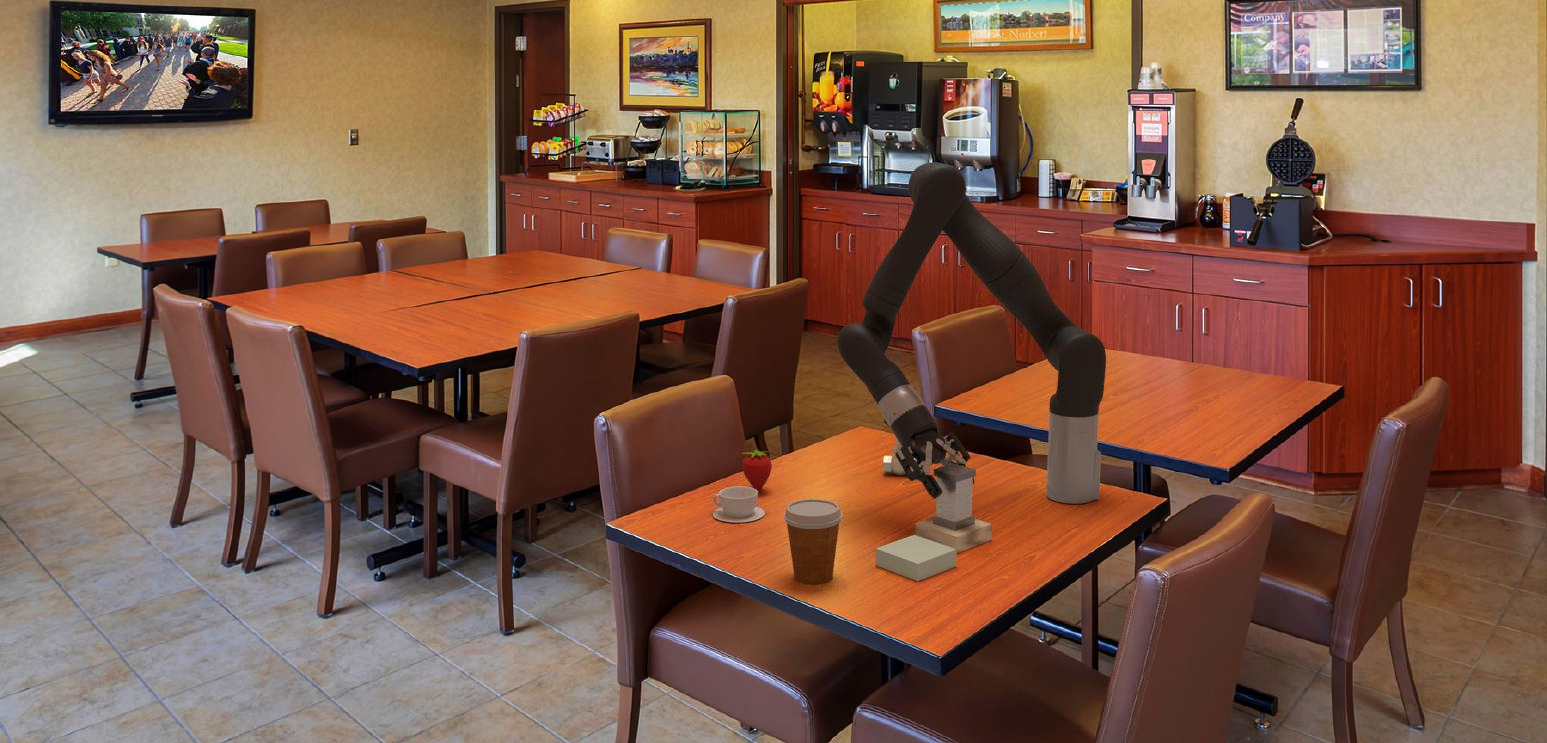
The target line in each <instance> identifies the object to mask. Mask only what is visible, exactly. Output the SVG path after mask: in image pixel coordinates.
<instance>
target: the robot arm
mask: <svg viewBox="0 0 1547 743" xmlns="http://www.w3.org/2000/svg"><path fill="white" fill-rule="evenodd" d="M907 185H908V187H907V188H908V193H909V194H908V195H909V197H910V199H911V202H912V203H913V207H912V209H911V212H910V215H909V216H908V217H909V218H908V219H907V221H906V224H905V226H904V229H903V230H902V231H901V233H900V235H899V236H898V238H897V240H896V241H895V243H894V244H893V246H892V247H891V248H890V249H889V251H888V252H887V254H886V255H885V256H884V258H883V259H882V261H881V263H879V266H878V267H877V269H876V271H875V273H874V275H873V277H872V279H871V281H870V283H869V285H868V287H867V289H866V292H865V294H864V296H863V298H862V306H863V308H864V309H865V313H864V316H863V320H862V322H861V323H859V322H858V323H857V322H856V323H855V322H854V323H853V322H852V323H848V324H846V325H845V326H843V327H842V328H841V330H840V331H839V332H838V335H837V340H836V343H837V350H838V351H839V354H840V356H841V358H842V359H843V360H844V362H845V363H846V364H847V366H848V367H849V368H850V369H851V370H852V372H853V373H854V374H855V375H856V376H857V377H858V378H859V379H860V380H861V381H862V382H863V384H864V385H865V386H866V388H867V390H868V392H869V393H870V394H871V396H872V398H873V400H874V401H875V402H876V404H877V406H878V407H879V410H880V411H881V414H882V417H883V418H884V419H885V420H886V421H887V423H888V425H889V426H890V427H889V426H888V427H889V428H890V429H891V431H892V433H893V434H894V436H895V437H896V438H897V439H898V441H899V442H900V444H901V446H902V447H901V448H900V449H899V450H898V451H897V452H896V453H895V455H896V457H897V459H898V461H899V462H900V464H901V466H902V468H903V469H904V471H905V473H906V474H905V475H906V476H907V478H908V480H909V481H910V482H914V481H915V480H916V481H918V482H920V483H921V484H922V485H923V486H924V489H925V490H926V491H927V493H928V495H929V496H930V497H932V499H933V500H934V499H936V498H938V497H939V496H940V495H941V494H942V489H941V488H940V486H939V485H938V483H937V479H936V477H935V476H934V474H931V466H933V465H938V464H941V465H942V466H946V465H949V464H952V463H954V464H958V465H961V466H965V467H967V465H966V464H967V462H968V461H969V460H970V459H971V455H970V454H969V452H968V451H967V449H966V448H965V446H964V445H963V443H961V440H959V438H958V437H957V435H956V434H955V433H954V431H953V432H952V431H950V432H949V433H948V434H947V435H945V436H943V435H941V434H940V432H938V427H939V426H938V425H939V424H938V423H937V421H936V418H934V416H933V415H932V413H931V412H930V410H929V408H928V407H927V405H926V403H925V402H924V401H923V399H922V397H921V396H920V395H919V393H918V392H917V391H916V390H915V388H914V387H913V386H912V384H911V383H910V382H909V380H908V379H907V377H906V376H905V373H904V372H903V371H902V369H901V368H900V367H899V366H898V365H897V364H896V363H895V362H893V361H892V360H890V359H889V358H888V357H887V356H886V354H885V353H886V352H887V350H888V348H889V346H890V344H891V340H892V337H893V333H894V329H895V326H896V319H897V316H898V313H899V312H900V309H901V308H902V306H903V305H904V302H905V300H906V297H907V296H908V294H909V292H910V291H911V288H912V285H913V283H914V281H915V279H916V277H917V275H918V274H919V271H920V269H921V267H922V266H923V263H924V262H925V260H926V258H927V256H928V254H929V252H930V251H931V250H932V248H933V246H934V244H935V243H936V242H937V239H938V238H939V236H940V235H941V233H942V231H943V233H944V234H945V235H946V236H947V237H948V238H949V239H950V241H951V242H952V244H954V247H955V248H956V249H957V251H958V252H959V254H960V255H961V256H962V258H963V259H964V261H965V262H966V263H967V265H968V266H969V267H970V268H971V270H972V271H973V272H974V274H975V275H976V276H977V278H978V279H979V280H980V281H981V282H982V284H983V285H984V286H985V287H986V289H987V290H988V291H989V292H990V294H992V295H993V297H995V299H996V300H997V301H998V302H999V303H1000V304H1001V305H1002V306H1003V307H1004V308H1005V309H1006V310H1007V311H1008V312H1009V313H1010V314H1011V315H1012V316H1013V317H1014V318H1015V319H1016V320H1017V321H1018V322H1020V324H1021V325H1022V326H1023V327H1024V328H1025V329H1026V331H1028V333H1029V334H1030V336H1031V337H1032V339H1033V341H1034V342H1035V344H1037V346H1038V348H1039V349H1040V351H1041V352H1042V354H1043V355H1044V357H1045V359H1046V360H1047V361H1048V363H1049V364H1050V365H1051V366H1052V367H1053V368H1054V369H1055V370H1056V371H1057V383H1056V391H1055V393H1053V394H1052V395H1051V396H1050V398H1049V412H1048V413H1049V414H1048V415H1049V416H1048V417H1049V418H1048V440H1047V441H1048V442H1047V443H1048V444H1047V468H1046V469H1047V470H1046V471H1047V473H1046V485H1045V486H1046V497H1047V498H1048V499H1050V500H1051V501H1054V502H1057V503H1063V504H1069V505H1070V504H1071V505H1072V504H1075V505H1076V504H1077V505H1079V504H1080V505H1081V504H1086V503H1090V502H1093V501H1095V500H1099V499H1100V489H1101V488H1100V486H1101V485H1100V484H1101V464H1102V459H1101V458H1102V452H1101V451H1100V450H1098V438H1099V436H1098V434H1099V433H1098V432H1099V412H1100V404H1101V402H1102V401H1103V398H1104V397H1103V396H1104V390H1105V380H1106V368H1107V353H1106V348H1105V345H1104V343H1103V341H1102V340H1101V338H1099V337H1098V336H1096V335H1095V334H1093V333H1091V332H1090V331H1087V330H1085V329H1082V328H1081V327H1080V326H1078V325H1077V324H1076V323H1075V322H1073V320H1071V318H1069V317H1068V316H1067V315H1066V314H1065V313H1064V312H1063V310H1061V308H1059V306H1058V305H1057V304H1056V303H1055V301H1054V300H1053V299H1052V296H1051V295H1050V293H1049V291H1048V289H1047V287H1046V284H1045V282H1044V280H1043V278H1042V276H1041V275H1040V273H1039V271H1038V270H1037V268H1036V267H1035V265H1034V264H1033V263H1032V261H1030V259H1029V258H1028V256H1026V255H1025V253H1024V252H1023V251H1022V249H1020V247H1019V246H1017V244H1016V243H1015V242H1014V241H1013V240H1012V239H1011V238H1009V237H1008V236H1007V235H1006V234H1005V233H1004V232H1003V231H1002V230H1001V229H999V228H998V227H997V226H996V225H994V223H992V222H991V221H990V220H989V219H988V218H986V217H985V216H984V215H983V214H982V213H981V212H980V211H979V210H978V209H977V208H976V206H975V205H974V204H973V203H972V201H971V200H970V199H969V197H968V196H967V194H966V193H967V184H966V180H965V177H964V175H963V174H962V172H961V171H960V170H959V169H957V168H956V167H954V166H953V165H949V164H946V163H942V162H936V161H935V162H926V163H923V164H921V165H919V166H917V167H916V168H915V169H914V170H913V171H912V172H911V174H910V177H909V179H908V184H907ZM959 453H960V454H959ZM914 458H915V459H914ZM910 466H911V467H912V469H913V472H912V470H911V468H910ZM974 478H975V477H973V482H972V486H973V485H974V484H975V479H974Z"/></svg>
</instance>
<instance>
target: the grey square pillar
mask: <svg viewBox="0 0 1547 743" xmlns="http://www.w3.org/2000/svg"><path fill="white" fill-rule="evenodd" d="M954 463H955V462H954ZM954 463H952V464H949V465H946V466H944V465H942V466H939V467H936V468H933V477H935V478H936V481H937V483H938V485H939V486H940V488H941V489H942V494H941V495H940V496H939V497H938V498H935V499H936V503H935V504H936V505H935V507H936V510H935V516H932V517H933V524H936V525H939V526H942V527H945V528H948V529H951V530H955V531H956V530H959V529H962V528H965V527H967V526H970V525H973V524H975V519H976V517H975V516H973V485H972V482H973V478H975V477H976V476H977V469H976V468H971V467H969V466H966V467H965V466H961V465H958V464H954Z"/></svg>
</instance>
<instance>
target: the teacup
mask: <svg viewBox="0 0 1547 743" xmlns="http://www.w3.org/2000/svg"><path fill="white" fill-rule="evenodd" d="M758 495H759V492H758V491H757V490H756V489H754V488H753V487H751V486H750V487H749V486H745V485H744V486H739V485H738V486H729V487H725V488H722V489H721V490H720V491H719V492H718V493H716V494H714V495H713V499H712V500H713V504H714V505H715V506H717V507H719V508H716V509H715V510H713V511H712V517H713V518H715V519H716V520H719V521H722V522H726V523H748V522H753V521H757V520H760V519H762V518H763V517H765V514H766V511H765V510H764V509H763V508H761V507H759V506H757V505H758V504H757V503H758V497H759V496H758ZM717 498H718V499H719V502H718V500H717ZM752 514H753V515H752Z"/></svg>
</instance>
